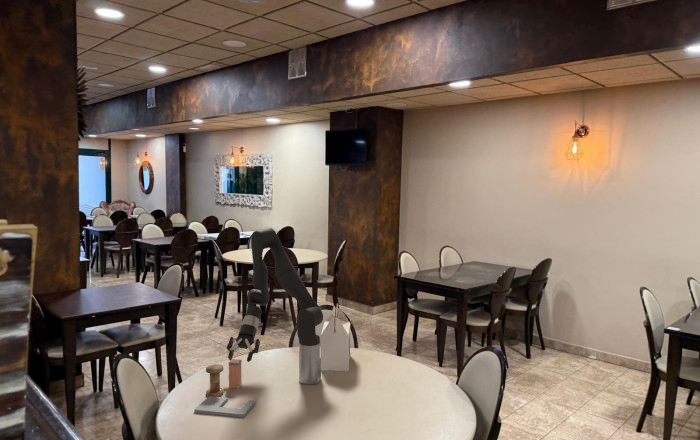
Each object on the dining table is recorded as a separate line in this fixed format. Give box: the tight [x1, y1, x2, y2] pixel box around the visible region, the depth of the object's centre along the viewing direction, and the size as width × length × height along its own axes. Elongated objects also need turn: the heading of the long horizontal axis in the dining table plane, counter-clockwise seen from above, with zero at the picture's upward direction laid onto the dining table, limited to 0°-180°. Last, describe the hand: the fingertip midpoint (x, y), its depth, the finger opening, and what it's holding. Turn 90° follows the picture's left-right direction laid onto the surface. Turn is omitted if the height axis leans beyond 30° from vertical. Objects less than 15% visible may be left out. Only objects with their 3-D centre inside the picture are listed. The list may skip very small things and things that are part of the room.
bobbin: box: [205, 363, 225, 398], centre depth 194 cm, size 7×7×11 cm
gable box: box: [320, 303, 351, 372], centre depth 231 cm, size 22×13×28 cm, turn 178°
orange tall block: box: [228, 358, 242, 389], centre depth 202 cm, size 4×4×11 cm
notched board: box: [193, 396, 257, 418], centre depth 182 cm, size 20×12×1 cm, turn 80°
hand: (238, 360), depth 206 cm, fingers open, 8 cm apart
